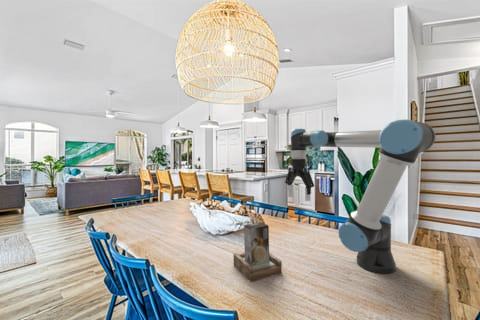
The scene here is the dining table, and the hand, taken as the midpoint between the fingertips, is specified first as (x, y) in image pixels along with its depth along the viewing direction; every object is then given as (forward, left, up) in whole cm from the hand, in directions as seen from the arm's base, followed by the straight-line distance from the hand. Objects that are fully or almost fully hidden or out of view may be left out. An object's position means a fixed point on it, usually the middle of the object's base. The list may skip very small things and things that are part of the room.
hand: (298, 198), depth 123 cm
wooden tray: (-9, +31, -27) cm, 42 cm away
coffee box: (-9, +31, -24) cm, 40 cm away
